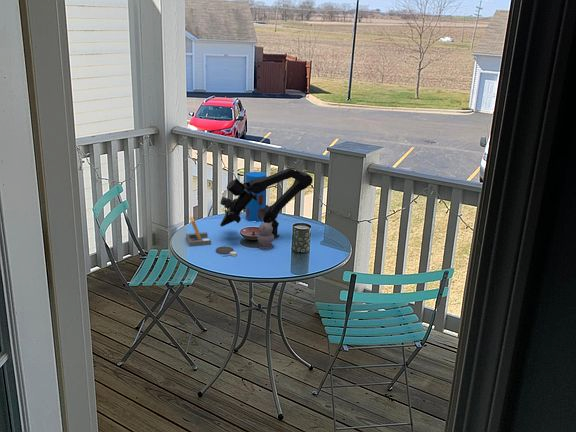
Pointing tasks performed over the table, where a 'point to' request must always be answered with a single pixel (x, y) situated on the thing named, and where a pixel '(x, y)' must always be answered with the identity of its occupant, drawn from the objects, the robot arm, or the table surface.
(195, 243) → the breaker housing
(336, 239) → the table surface
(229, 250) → the ping pong paddle
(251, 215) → the thermos
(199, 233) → the block
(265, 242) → the cat figurine
